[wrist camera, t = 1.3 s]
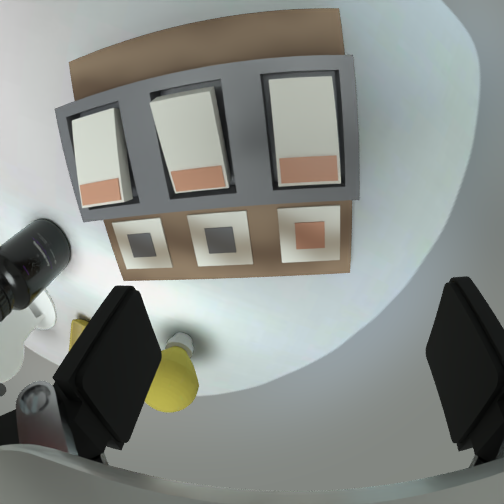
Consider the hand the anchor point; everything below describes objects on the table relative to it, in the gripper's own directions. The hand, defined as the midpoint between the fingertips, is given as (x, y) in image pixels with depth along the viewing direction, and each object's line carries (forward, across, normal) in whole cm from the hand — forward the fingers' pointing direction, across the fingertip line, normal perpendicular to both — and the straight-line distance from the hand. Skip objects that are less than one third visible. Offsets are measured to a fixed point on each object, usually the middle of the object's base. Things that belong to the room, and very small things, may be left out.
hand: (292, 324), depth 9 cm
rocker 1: (+14, +14, -3) cm, 20 cm away
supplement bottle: (+19, +28, +6) cm, 34 cm away
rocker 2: (+14, +6, -3) cm, 16 cm away
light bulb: (+19, +14, +20) cm, 31 cm away
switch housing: (+17, +7, -3) cm, 19 cm away
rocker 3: (+14, -1, -3) cm, 15 cm away
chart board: (+19, +6, -1) cm, 20 cm away
